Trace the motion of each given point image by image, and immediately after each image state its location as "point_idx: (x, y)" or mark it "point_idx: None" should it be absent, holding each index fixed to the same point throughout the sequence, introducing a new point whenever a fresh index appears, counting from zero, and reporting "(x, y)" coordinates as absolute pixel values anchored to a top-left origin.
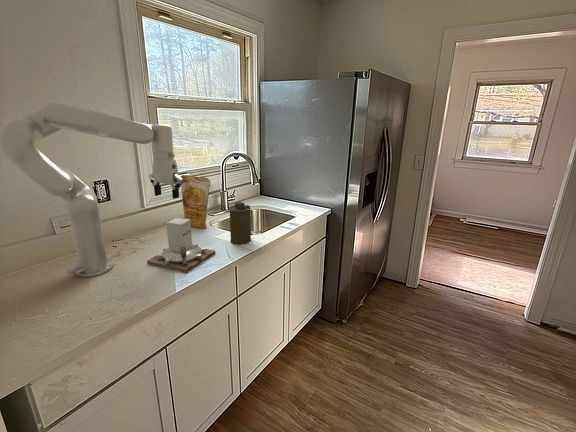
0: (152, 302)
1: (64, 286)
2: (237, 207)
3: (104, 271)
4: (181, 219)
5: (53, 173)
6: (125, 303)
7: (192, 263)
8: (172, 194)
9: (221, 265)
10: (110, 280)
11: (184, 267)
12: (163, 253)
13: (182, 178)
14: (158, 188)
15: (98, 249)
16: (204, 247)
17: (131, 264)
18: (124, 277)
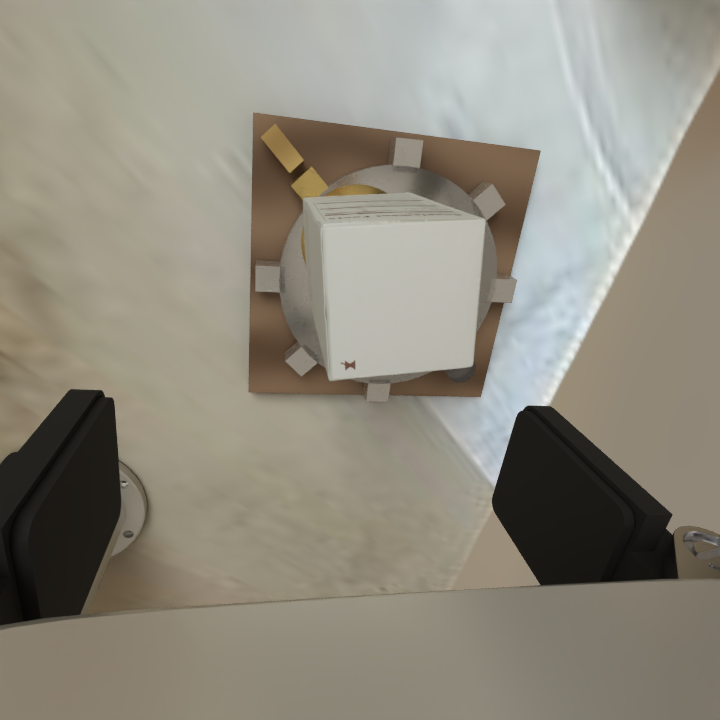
0: (459, 554)
1: (108, 606)
2: None
3: (145, 513)
4: (408, 257)
5: None
6: (387, 584)
7: (481, 339)
8: (529, 561)
9: (598, 274)
10: (224, 529)
11: (464, 382)
12: (306, 344)
13: None
14: (63, 558)
15: (90, 600)
16: (493, 185)
17: (179, 413)
18: (255, 497)
